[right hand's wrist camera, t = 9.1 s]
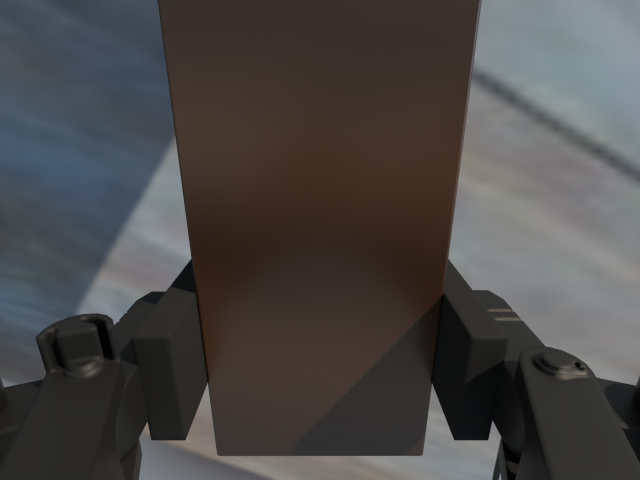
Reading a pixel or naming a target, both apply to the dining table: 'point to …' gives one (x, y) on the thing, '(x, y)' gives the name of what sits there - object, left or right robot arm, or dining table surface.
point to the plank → (319, 210)
